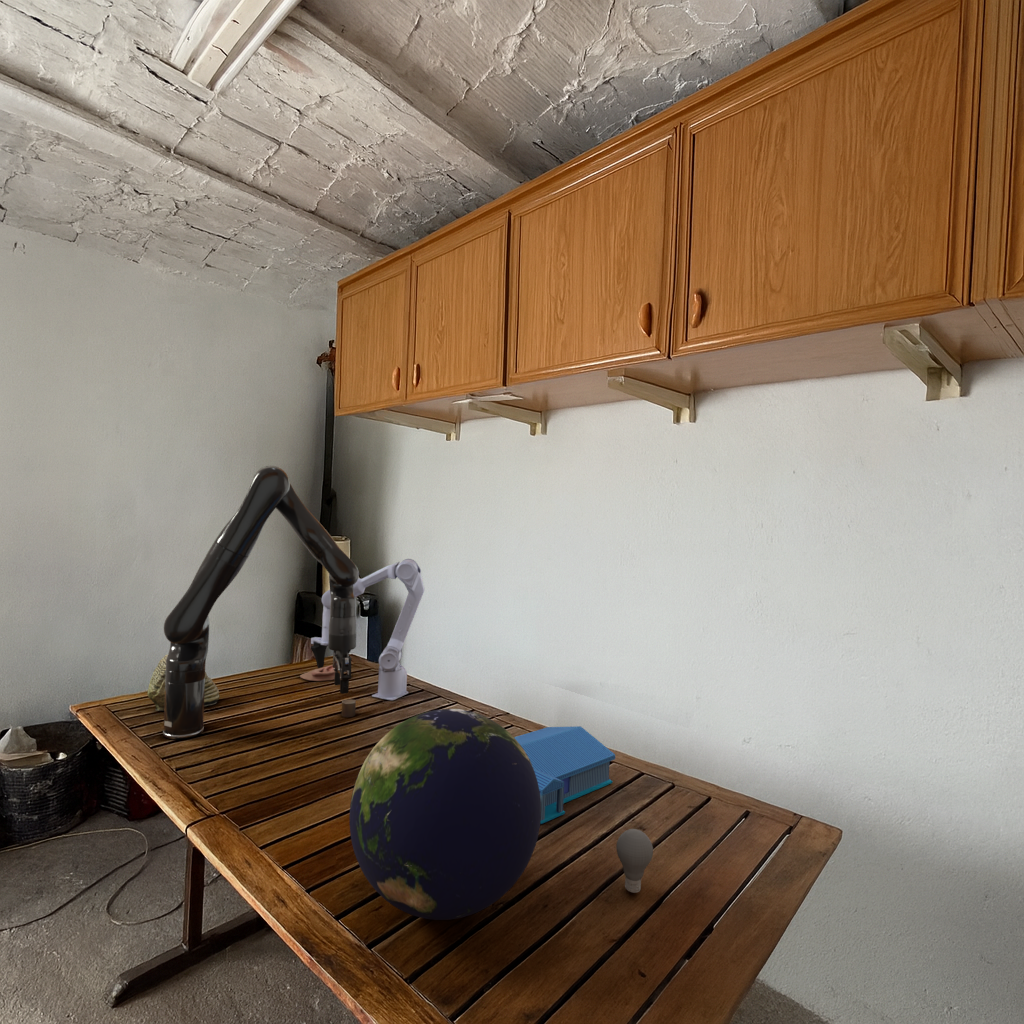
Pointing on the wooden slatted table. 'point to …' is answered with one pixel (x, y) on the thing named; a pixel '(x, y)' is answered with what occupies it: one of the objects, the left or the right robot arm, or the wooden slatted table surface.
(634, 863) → the light bulb
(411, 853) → the globe
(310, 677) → the anatomical model
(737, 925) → the wooden slatted table surface
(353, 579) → the left robot arm
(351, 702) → the can
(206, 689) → the fossil
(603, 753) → the model building
